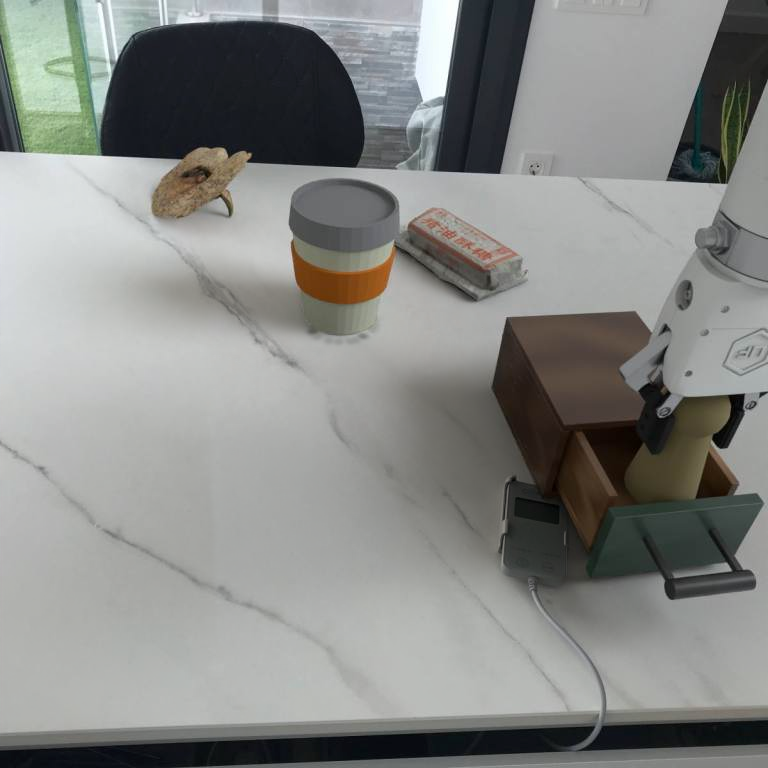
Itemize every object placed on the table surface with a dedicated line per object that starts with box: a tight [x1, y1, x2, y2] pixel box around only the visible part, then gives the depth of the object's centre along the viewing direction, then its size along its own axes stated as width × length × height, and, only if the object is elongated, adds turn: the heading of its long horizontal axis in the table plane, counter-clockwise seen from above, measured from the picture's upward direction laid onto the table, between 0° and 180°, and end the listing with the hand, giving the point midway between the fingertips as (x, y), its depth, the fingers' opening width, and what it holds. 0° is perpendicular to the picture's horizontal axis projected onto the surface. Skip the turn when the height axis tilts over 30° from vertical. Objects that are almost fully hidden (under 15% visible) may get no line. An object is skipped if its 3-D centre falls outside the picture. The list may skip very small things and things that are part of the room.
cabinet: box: [490, 310, 666, 500], centre depth 78 cm, size 17×15×10 cm
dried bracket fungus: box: [150, 146, 252, 220], centre depth 112 cm, size 18×14×8 cm
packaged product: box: [394, 207, 529, 302], centre depth 105 cm, size 18×5×10 cm
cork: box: [624, 387, 731, 504], centre depth 63 cm, size 6×6×11 cm
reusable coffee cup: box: [288, 177, 401, 336], centre depth 90 cm, size 13×13×15 cm
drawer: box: [554, 426, 765, 601], centre depth 68 cm, size 21×13×8 cm, turn 11°
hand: (681, 438), depth 63 cm, fingers closed on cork, 5 cm apart
